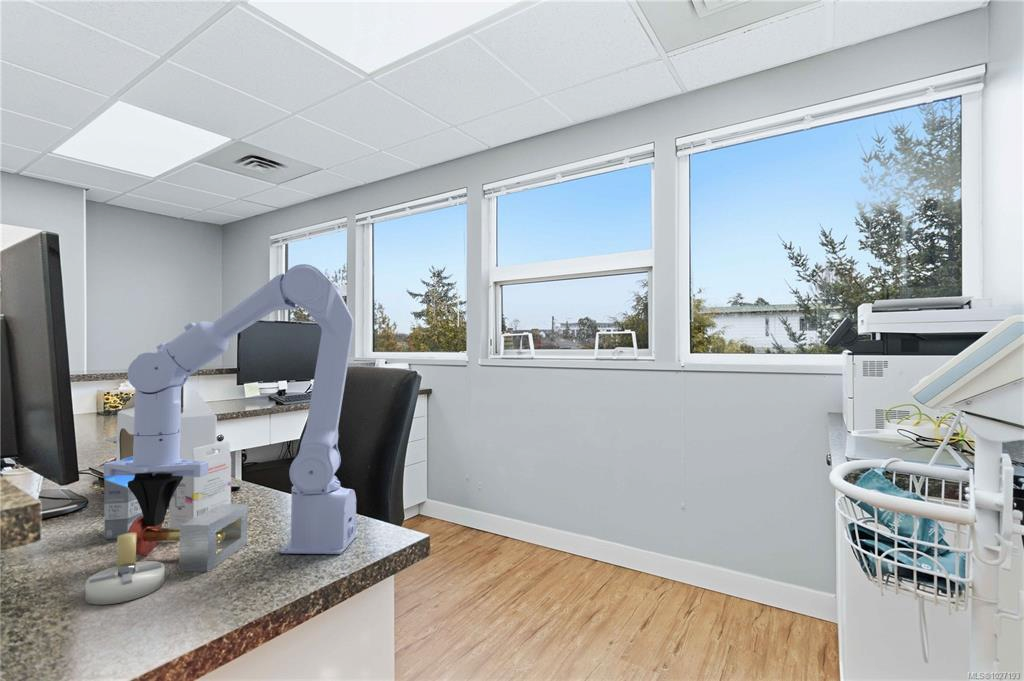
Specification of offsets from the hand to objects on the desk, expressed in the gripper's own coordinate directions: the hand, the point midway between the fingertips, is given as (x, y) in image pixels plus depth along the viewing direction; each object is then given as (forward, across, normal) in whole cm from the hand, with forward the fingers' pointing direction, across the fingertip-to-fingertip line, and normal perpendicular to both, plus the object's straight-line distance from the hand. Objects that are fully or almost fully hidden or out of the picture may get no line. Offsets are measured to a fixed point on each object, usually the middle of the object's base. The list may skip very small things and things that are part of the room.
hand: (154, 524), depth 74 cm
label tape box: (+5, -12, +11) cm, 17 cm away
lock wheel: (+5, +4, -10) cm, 12 cm away
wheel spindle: (+3, +4, -10) cm, 12 cm away
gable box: (+5, -23, +34) cm, 42 cm away
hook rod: (+4, +4, 0) cm, 6 cm away
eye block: (+5, +9, 0) cm, 10 cm away
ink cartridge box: (+5, -1, +12) cm, 13 cm away
